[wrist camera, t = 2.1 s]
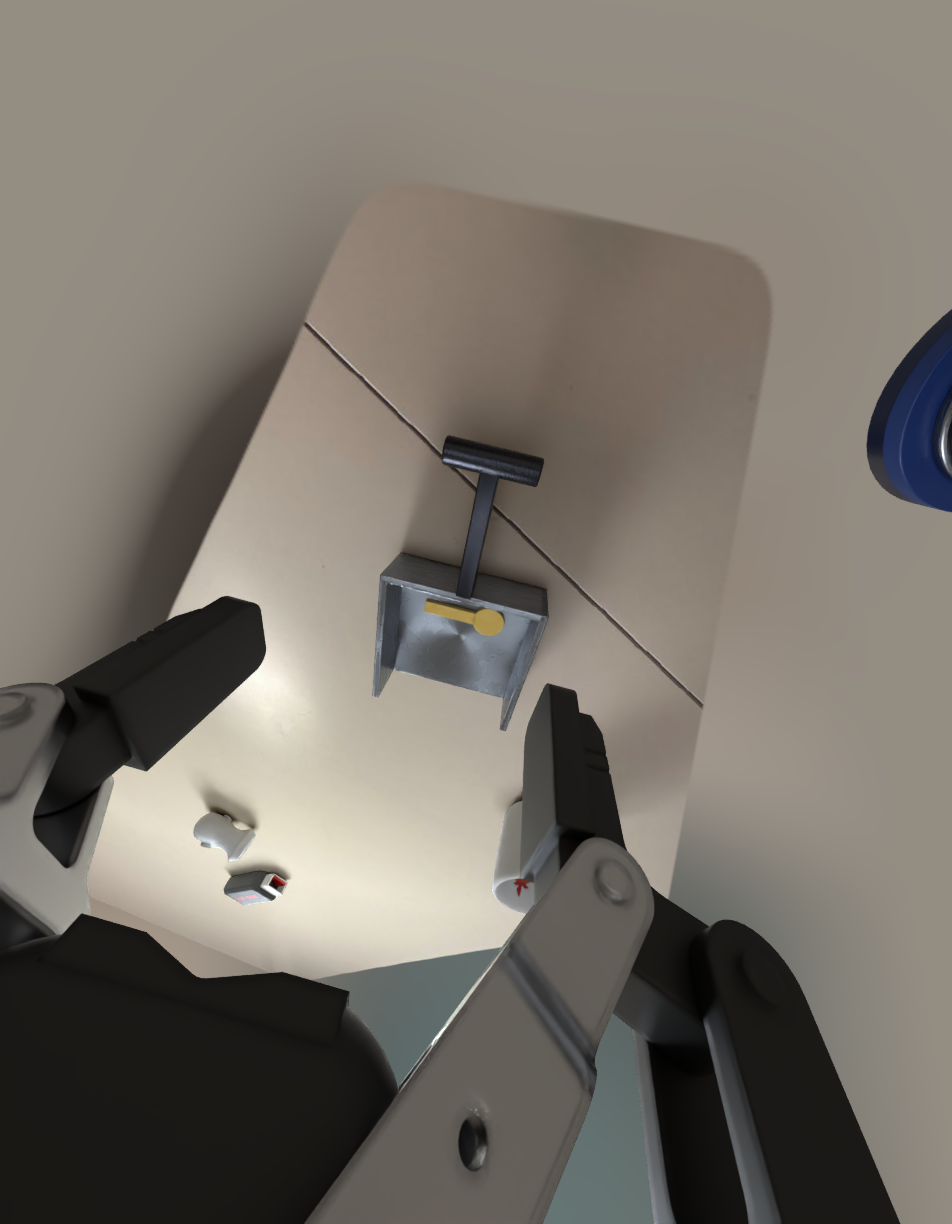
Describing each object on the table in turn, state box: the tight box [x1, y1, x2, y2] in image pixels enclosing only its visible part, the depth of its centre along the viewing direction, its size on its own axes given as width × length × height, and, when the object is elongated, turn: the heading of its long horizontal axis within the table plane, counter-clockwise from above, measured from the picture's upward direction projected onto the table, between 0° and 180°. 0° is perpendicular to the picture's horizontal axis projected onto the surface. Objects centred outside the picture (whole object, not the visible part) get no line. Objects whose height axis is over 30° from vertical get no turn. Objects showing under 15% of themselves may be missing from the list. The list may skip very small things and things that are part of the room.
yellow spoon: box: [424, 599, 504, 636], centre depth 26 cm, size 6×2×1 cm, turn 79°
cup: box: [492, 801, 534, 914], centre depth 36 cm, size 11×8×8 cm
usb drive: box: [224, 871, 288, 905], centre depth 60 cm, size 5×12×3 cm, turn 123°
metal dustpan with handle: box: [372, 435, 549, 731], centre depth 24 cm, size 11×20×5 cm, turn 169°
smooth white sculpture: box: [194, 813, 255, 861], centre depth 50 cm, size 4×8×5 cm
